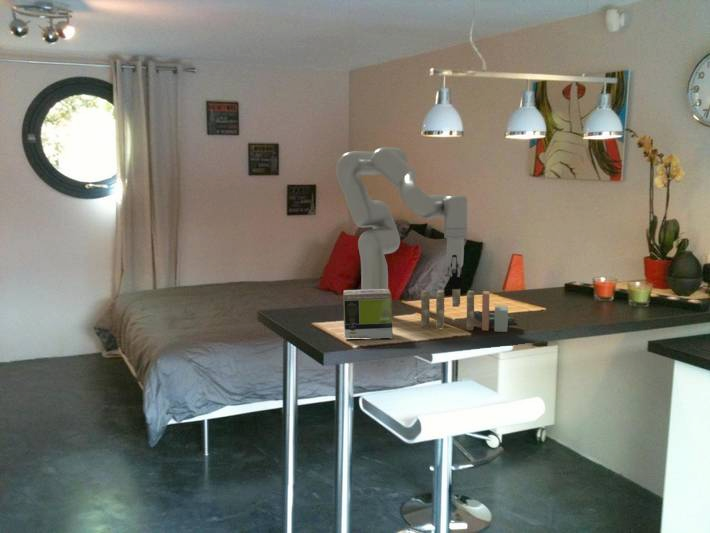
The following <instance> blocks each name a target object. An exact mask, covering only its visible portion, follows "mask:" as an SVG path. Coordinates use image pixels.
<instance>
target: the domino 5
mask: <svg viewBox="0 0 710 533" xmlns="http://www.w3.org/2000/svg"><path fill="white" fill-rule="evenodd" d="M481 298H482V300H481V301H482V302H481V303H482V306H481V312H482V323H481V331H489V329H490V326H489V311H490V290H489V291H488V290H487V291H486V290H483V291H482V296H481Z"/></svg>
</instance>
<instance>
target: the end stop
mask: <svg viewBox="0 0 710 533" xmlns="http://www.w3.org/2000/svg"><path fill="white" fill-rule="evenodd" d="M508 310H509V306H508V305H495V308H494V311H495V324H494V325H493V326H494V332H503V333H505V332H508V326H509V325H508V315H509V311H508Z"/></svg>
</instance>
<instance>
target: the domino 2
mask: <svg viewBox="0 0 710 533" xmlns="http://www.w3.org/2000/svg"><path fill="white" fill-rule="evenodd" d="M435 294H436V295H435V296H436V297H435V298H436V299H435V303H436V304H435V305H436V306H435V310H436V312H435V319H436V320H435V321H436V322H435V323H436V324H435V326H436V328H444V327H445V290H444V289H438V290H437V291H436V293H435ZM443 326H444V327H443Z"/></svg>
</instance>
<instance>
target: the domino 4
mask: <svg viewBox="0 0 710 533" xmlns="http://www.w3.org/2000/svg"><path fill="white" fill-rule="evenodd" d="M474 311H475V291H474V290H467V293H466V330H467V331H473V330H474V329H475V328H474V327H475V318H474Z"/></svg>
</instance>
